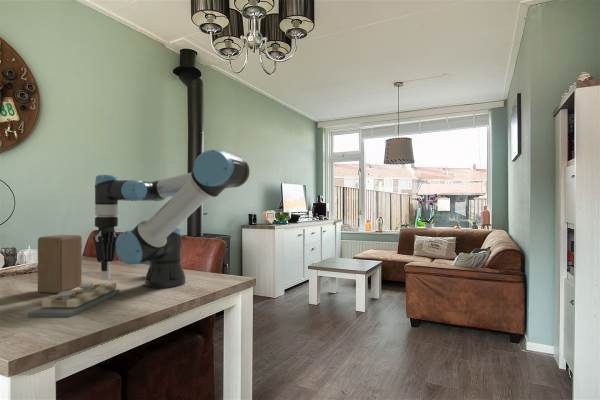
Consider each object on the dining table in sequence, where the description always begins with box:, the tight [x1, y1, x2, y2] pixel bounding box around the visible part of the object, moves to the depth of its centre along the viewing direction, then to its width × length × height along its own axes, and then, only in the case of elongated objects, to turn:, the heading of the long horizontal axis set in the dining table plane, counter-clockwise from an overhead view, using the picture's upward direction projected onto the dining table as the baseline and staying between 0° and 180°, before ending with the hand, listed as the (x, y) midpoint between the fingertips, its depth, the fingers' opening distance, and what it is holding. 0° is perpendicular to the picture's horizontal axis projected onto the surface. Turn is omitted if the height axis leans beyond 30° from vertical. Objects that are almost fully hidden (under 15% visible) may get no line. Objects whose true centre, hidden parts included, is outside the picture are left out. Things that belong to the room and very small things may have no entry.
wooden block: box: [37, 234, 83, 294], centre depth 128 cm, size 10×10×20 cm
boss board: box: [27, 282, 120, 318], centre depth 111 cm, size 26×12×5 cm, turn 0°
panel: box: [41, 282, 117, 307], centre depth 113 cm, size 22×10×2 cm, turn 0°
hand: (105, 279), depth 130 cm, fingers closed
